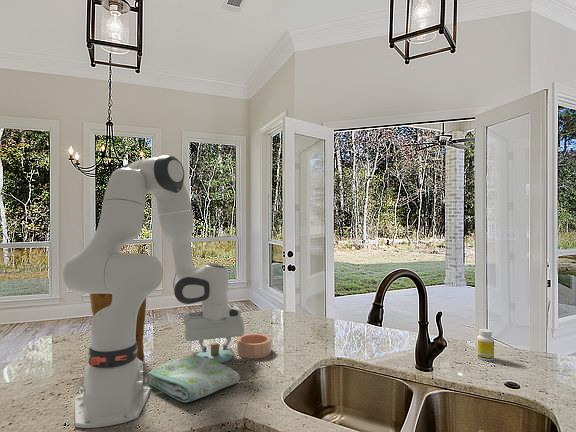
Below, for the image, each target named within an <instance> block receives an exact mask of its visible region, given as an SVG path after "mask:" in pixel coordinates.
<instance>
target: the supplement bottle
mask: <svg viewBox="0 0 576 432" xmlns="http://www.w3.org/2000/svg"><path fill="white" fill-rule="evenodd" d="M478 331H479V332H478V333H479V335H477V337H476V357H477V358H478V359H479V360H481V361H489V362H490V361H491V362H492V361H493V360H494V358H495V339H494V337H493V330H491V329H487V328H480V329H479V330H478Z"/></svg>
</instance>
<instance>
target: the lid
mask: <svg viewBox="0 0 576 432" xmlns="http://www.w3.org/2000/svg"><path fill="white" fill-rule="evenodd" d="M206 350H207V352H204V353H202V350H201V351H198V352H199V353H198V354H197V355H198V356H201V357H203V358H207V359H210V360H212V361H215V362H217V363H219V364H220V363H224V362H227V361H229V360H231V359H232V358H233V353H232V352H231V351H229V350H223V348H220V343H218V342H214V343H210V349H206Z"/></svg>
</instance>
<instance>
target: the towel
mask: <svg viewBox="0 0 576 432" xmlns="http://www.w3.org/2000/svg"><path fill="white" fill-rule="evenodd" d="M147 374H148V381H149V382H148V383H149V385H150V386H151V387H153V388H155V389H156V390H158V391H160V392H162V393H165V394H166V395H168V396H169V397H171V398H173V399H175V400H177V401H178V402H181V403H189V402H193V401H196V400H198V399H201V398H203V397H204V398H205V397H206V396H209V395H211V394H213V393H216V392H217V391H221V390H222V389H225V388H227V387H230V386H232V385H233V386H234V385H235V384H237V383H238V382H239V381H240V379H241V375H240V374H239V372H238V371H237V370H234V369H233V368H232V367H229V366H227V365H226V364H219V363H217V362H215V361H212V360H210V359H207V358H203V357H201V356H198V355H193V354H189V355H186V356H183V357H180V358H177V359H174V360H170V361H168V362H166V363H164V364H163V363H162V364H160V365H159V366H156V367H154V368H152V369H151V370H150V371H149V372H148V373H147Z"/></svg>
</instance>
